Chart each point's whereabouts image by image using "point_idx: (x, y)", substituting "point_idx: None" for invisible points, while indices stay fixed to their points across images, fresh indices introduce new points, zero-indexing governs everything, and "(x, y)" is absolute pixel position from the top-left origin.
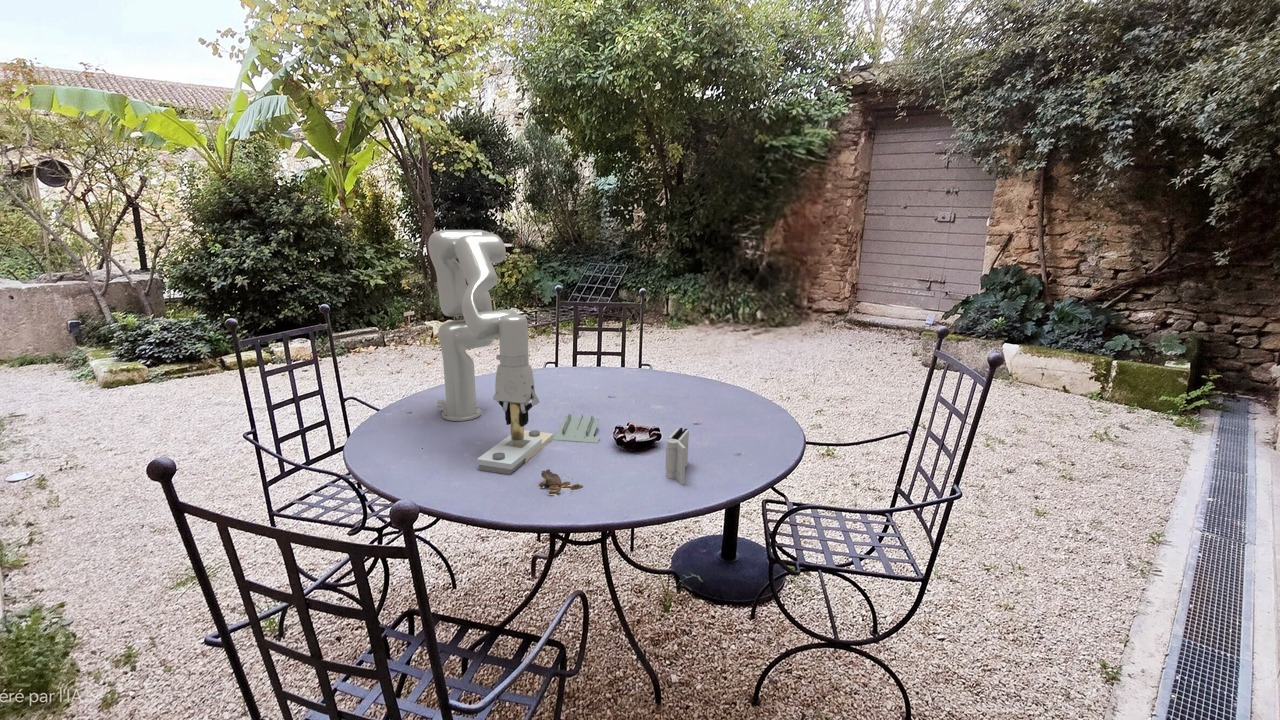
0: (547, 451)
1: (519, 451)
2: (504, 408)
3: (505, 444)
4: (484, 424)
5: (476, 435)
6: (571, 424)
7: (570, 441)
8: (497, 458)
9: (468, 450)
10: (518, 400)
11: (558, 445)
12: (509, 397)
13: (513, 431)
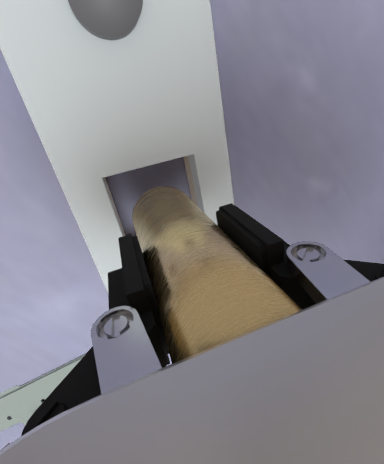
0: (71, 268)
1: (78, 138)
2: (315, 254)
3: (196, 170)
4: None
5: (346, 219)
6: None
7: (72, 360)
8: None
9: (316, 114)
10: (142, 429)
11: (80, 320)
12: (376, 379)
13: (170, 200)
